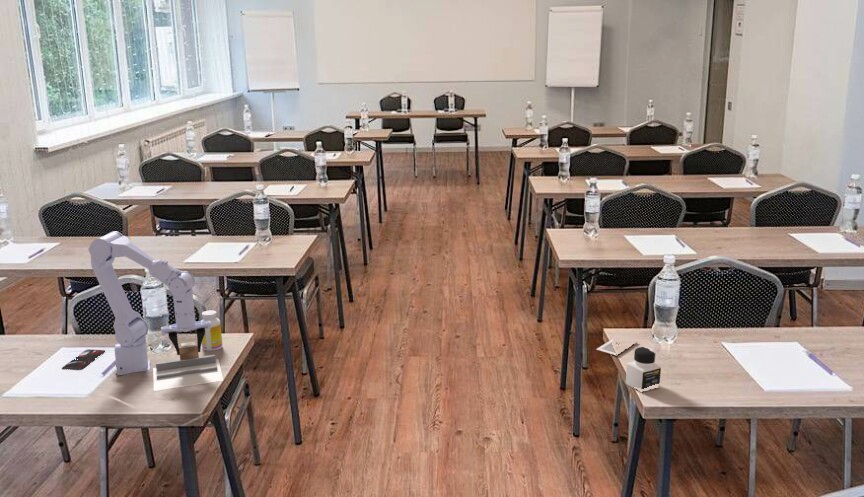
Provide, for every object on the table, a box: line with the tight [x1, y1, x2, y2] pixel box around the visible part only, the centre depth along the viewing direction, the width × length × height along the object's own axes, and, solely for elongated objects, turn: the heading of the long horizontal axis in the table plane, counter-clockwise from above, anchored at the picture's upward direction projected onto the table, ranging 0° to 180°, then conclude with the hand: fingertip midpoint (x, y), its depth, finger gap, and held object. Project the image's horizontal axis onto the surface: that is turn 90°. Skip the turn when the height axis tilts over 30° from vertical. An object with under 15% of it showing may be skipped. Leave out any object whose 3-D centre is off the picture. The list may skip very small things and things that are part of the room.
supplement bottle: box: [200, 309, 223, 351], centre depth 251 cm, size 7×7×13 cm
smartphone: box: [61, 349, 106, 371], centre depth 244 cm, size 7×1×15 cm
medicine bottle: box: [625, 346, 662, 389], centre depth 224 cm, size 7×7×12 cm
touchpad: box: [596, 338, 620, 356], centre depth 253 cm, size 8×15×2 cm, turn 139°
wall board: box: [152, 354, 224, 392], centre depth 232 cm, size 20×17×4 cm
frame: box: [178, 340, 200, 361], centre depth 233 cm, size 6×4×4 cm
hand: (188, 352), depth 234 cm, fingers closed on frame, 5 cm apart
